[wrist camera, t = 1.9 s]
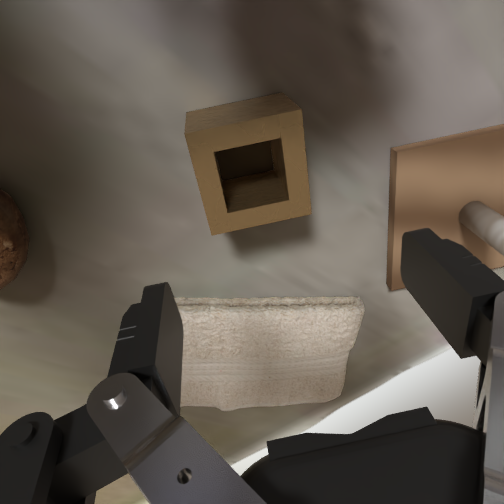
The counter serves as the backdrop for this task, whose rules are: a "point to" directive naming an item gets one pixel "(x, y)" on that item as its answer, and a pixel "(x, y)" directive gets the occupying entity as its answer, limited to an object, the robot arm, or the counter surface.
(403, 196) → the post base
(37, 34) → the counter surface
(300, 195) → the collar
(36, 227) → the counter surface
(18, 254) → the brown round lump
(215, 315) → the washcloth
